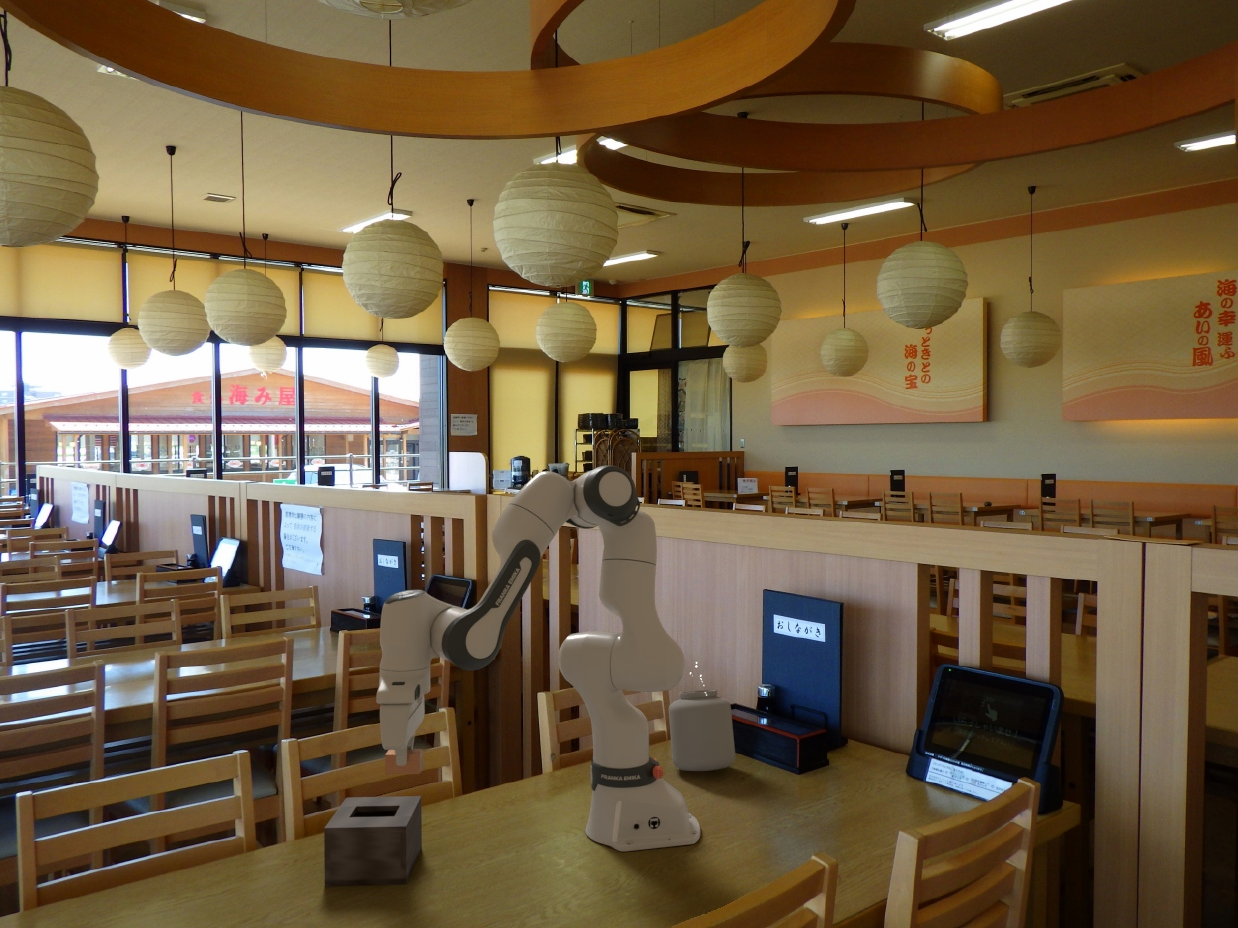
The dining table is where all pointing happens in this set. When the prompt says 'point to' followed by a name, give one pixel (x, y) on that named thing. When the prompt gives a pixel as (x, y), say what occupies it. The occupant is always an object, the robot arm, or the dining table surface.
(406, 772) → the pink rectangular block
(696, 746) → the jar
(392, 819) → the tip box
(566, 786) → the dining table surface
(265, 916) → the dining table surface
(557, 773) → the dining table surface
